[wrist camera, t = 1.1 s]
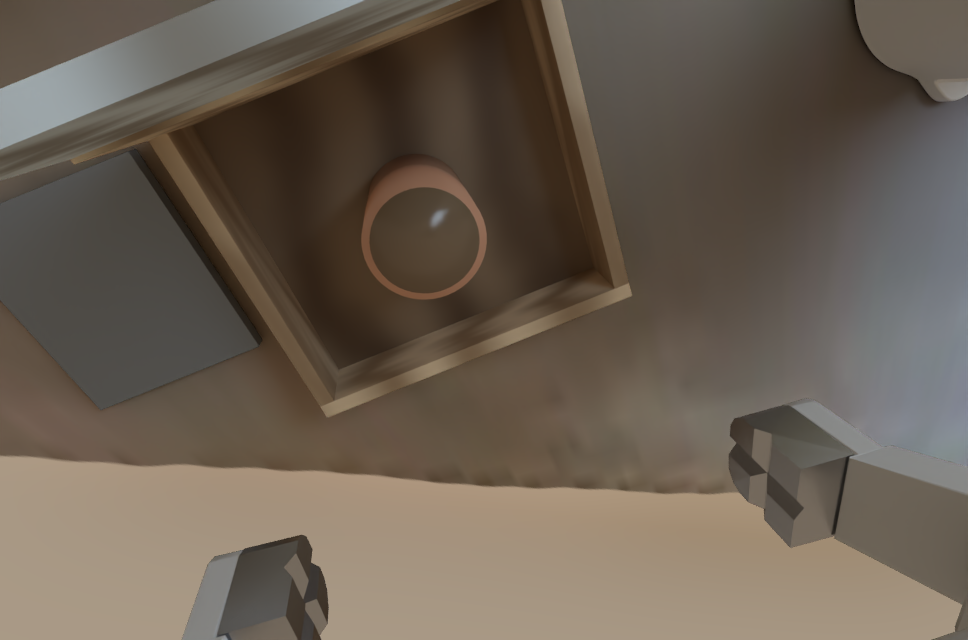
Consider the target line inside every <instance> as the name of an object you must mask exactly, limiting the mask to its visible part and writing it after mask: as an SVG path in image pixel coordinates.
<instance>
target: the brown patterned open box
mask: <svg viewBox="0 0 968 640" xmlns="http://www.w3.org/2000/svg"><path fill="white" fill-rule="evenodd" d="M146 141H149V143H150V144H151V146H152V147H153V149H154V151H155V152H156V154H157V155H158V157H159V158H160V160H161V161H162V163H163V164H164V166H165V168H166V169H167V171H168V172H169V174H170V175H171V177H172V178H173V180H174V181H175V183H176V185H177V186H178V188H179V189H180V191H181V192H182V194H183V195H184V197H185V198H186V200H187V202H188V203H189V205H190V206H191V208H192V209H193V211H194V212H195V214H196V215H197V217H198V219H199V220H200V222H201V223H202V225H203V226H204V228H205V229H206V231H207V232H208V234H209V236H210V237H211V239H212V240H213V242H214V243H215V245H216V246H217V248H218V249H219V251H220V253H221V254H222V256H223V257H224V259H225V260H226V262H227V263H228V265H229V267H230V268H231V270H232V271H233V273H234V274H235V276H236V277H237V279H238V280H239V282H240V284H241V285H242V287H243V288H244V290H245V291H246V293H247V294H248V296H249V297H250V299H251V301H252V302H253V304H254V305H255V307H256V308H257V310H258V311H259V313H260V314H261V316H262V318H263V319H264V321H265V322H266V324H267V325H268V327H269V328H270V330H271V331H272V333H273V335H274V336H275V338H276V339H277V341H278V342H279V344H280V345H281V347H282V348H283V350H284V352H285V353H286V355H287V356H288V358H289V359H290V361H291V362H292V364H293V365H294V367H295V369H296V370H297V372H298V373H299V375H300V376H301V378H302V379H303V381H304V382H305V384H306V386H307V387H308V389H309V390H310V392H311V393H312V395H313V396H314V398H315V400H316V401H317V403H318V404H319V406H320V407H321V409H322V410H323V412H324V413H325V415H326V417H327V418H328V417H330V416H333V415H335V414H338V413H340V412H343V411H345V410H348V409H350V408H353V407H355V406H358V405H360V404H363V403H365V402H368V401H370V400H373V399H375V398H378V397H380V396H383V395H385V394H388V393H390V392H393V391H395V390H398V389H400V388H403V387H405V386H408V385H410V384H413V383H415V382H418V381H420V380H423V379H425V378H428V377H430V376H433V375H435V374H438V373H440V372H443V371H445V370H448V369H450V368H453V367H455V366H458V365H460V364H463V363H465V362H468V361H470V360H473V359H475V358H478V357H480V356H483V355H485V354H488V353H490V352H493V351H495V350H498V349H500V348H503V347H505V346H508V345H510V344H513V343H515V342H518V341H520V340H523V339H525V338H528V337H530V336H533V335H535V334H538V333H540V332H543V331H545V330H548V329H550V328H553V327H555V326H558V325H560V324H563V323H565V322H568V321H570V320H573V319H576V318H578V317H581V316H583V315H586V314H588V313H591V312H593V311H596V310H598V309H601V308H603V307H606V306H608V305H611V304H613V303H616V302H618V301H621V300H623V299H626V298H628V297H631V296H632V293H631V289H630V285H629V281H628V277H627V272H626V268H625V264H624V260H623V256H622V252H621V247H620V243H619V239H618V235H617V231H616V227H615V222H614V218H613V214H612V210H611V206H610V202H609V197H608V193H607V189H606V185H605V181H604V177H603V172H602V168H601V164H600V160H599V156H598V152H597V147H596V143H595V139H594V135H593V131H592V127H591V122H590V118H589V114H588V110H587V106H586V102H585V97H584V93H583V89H582V85H581V81H580V76H579V72H578V68H577V64H576V60H575V56H574V51H573V47H572V43H571V39H570V35H569V31H568V26H567V22H566V18H565V14H564V10H563V6H562V1H561V0H216V1H213V2H211V3H208V4H206V5H203V6H201V7H198V8H196V9H194V10H191V11H189V12H186V13H184V14H181V15H179V16H177V17H174V18H172V19H169V20H167V21H164V22H162V23H160V24H157V25H155V26H152V27H150V28H147V29H145V30H142V31H140V32H138V33H135V34H133V35H130V36H128V37H125V38H123V39H121V40H118V41H116V42H113V43H111V44H108V45H106V46H103V47H101V48H99V49H96V50H94V51H91V52H89V53H86V54H84V55H82V56H79V57H77V58H74V59H72V60H69V61H67V62H64V63H62V64H60V65H57V66H55V67H52V68H50V69H47V70H45V71H43V72H40V73H38V74H35V75H33V76H30V77H28V78H25V79H23V80H21V81H18V82H16V83H13V84H11V85H8V86H6V87H4V88H1V89H0V181H1V180H4V179H8V178H11V177H14V176H18V175H21V174H24V173H28V172H31V171H34V170H38V169H41V168H44V167H48V166H51V165H54V164H57V163H61V162H64V161H67V160H71V161H72V163H73V164H78V163H81V162H84V161H87V160H90V159H93V158H96V157H99V156H102V155H105V154H109V153H112V152H115V151H118V150H121V149H124V148H127V147H130V146H133V145H137V144H140V143H143V142H146ZM408 154H424V155H429V156H432V157H435V158H437V159H439V160H441V161H443V162H444V163H446V164H447V165H448V166H449V167H450V168H451V169H452V170H453V171H454V172H455V173H456V174H457V176H458V177H459V179H460V180H461V182H462V184H463V185H464V187H465V188H466V190H467V192H468V193H469V195H470V196H471V198H472V200H473V201H474V203H475V204H476V206H477V208H478V209H479V211H480V213H481V215H482V217H483V220H484V223H485V227H486V233H487V244H486V251H485V255H484V258H483V261H482V263H481V265H480V267H479V269H478V271H477V272H476V274H475V275H474V276H473V277H472V279H471V280H470V281H469V282H468V283H467V284H465V285H464V286H463V287H462V288H460V289H458V290H457V291H455V292H453V293H451V294H449V295H446V296H443V297H440V298H435V299H426V300H424V299H413V298H408V297H404V296H401V295H399V294H397V293H395V292H393V291H391V290H389V289H388V288H386V287H385V286H384V285H383V284H381V283H380V282H379V281H378V280H377V279H376V277H375V276H374V275H373V274H372V272H371V271H370V269H369V267H368V265H367V263H366V261H365V258H364V255H363V251H362V244H361V234H362V228H363V221H364V215H365V208H366V202H367V195H368V190H369V187H370V184H371V182H372V180H373V178H374V176H375V175H376V173H377V172H378V171H379V170H380V169H381V168H382V167H383V166H384V165H385V164H386V163H388V162H389V161H391V160H393V159H395V158H397V157H400V156H403V155H408Z"/></svg>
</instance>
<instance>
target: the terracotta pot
mask: <svg viewBox="0 0 968 640" xmlns="http://www.w3.org/2000/svg"><path fill="white" fill-rule="evenodd" d="M361 244H362V251H363V255H364V258H365V261H366V263H367V265H368V267H369V269H370V271H371V272H372V274H373V275H374V276H375V277H376V279H377V280H378V281H379V282H380V283H381V284H383V285H384V286H385V287H386V288H388V289H389V290H391V291H393V292H395V293H397V294H399V295H401V296H404V297H408V298H413V299H424V300H426V299H435V298H440V297H443V296H446V295H449V294H451V293H453V292H455V291H457V290H458V289H460V288H462V287H463V286H464V285H465V284H467V283H468V282H469V281H470V280H471V279H472V277H473V276H474V275H475V274H476V272H477V271H478V269H479V267H480V265H481V263H482V261H483V258H484V255H485V251H486V244H487V233H486V227H485V223H484V220H483V217H482V215H481V213H480V211H479V209H478V208H477V206H476V204H475V203H474V201H473V200H472V198H471V196H470V195H469V193H468V192H467V190H466V188H465V187H464V185H463V184H462V182H461V180H460V179H459V177H458V176H457V174H456V173H455V172H454V171H453V170H452V169H451V168H450V167H449V166H448V165H447V164H446V163H444V162H443V161H441V160H439V159H437V158H435V157H432V156H429V155H424V154H408V155H403V156H400V157H397V158H395V159H393V160H391V161H389V162H388V163H386V164H385V165H384V166H383V167H382V168H381V169H380V170H379V171H378V172H377V173H376V175H375V176H374V178H373V180H372V182H371V184H370V187H369V190H368V195H367V202H366V208H365V215H364V221H363V228H362V234H361Z"/></svg>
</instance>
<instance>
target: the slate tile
mask: <svg viewBox="0 0 968 640" xmlns="http://www.w3.org/2000/svg"><path fill="white" fill-rule="evenodd" d="M0 301H1V302H2V303H3V304H4V305H5V306H6V307H7V308H8V309H9V311H10V312H11V313H12V314H13V315H14V316H15V317H16V318H17V319H18V320H19V321H20V323H21V324H22V325H23V326H24V327H25V328H26V329H27V330H28V331H29V332H30V334H31V335H32V336H33V337H34V338H35V339H36V340H37V341H38V342H39V343H40V344H41V346H42V347H43V348H44V349H45V350H46V351H47V352H48V353H49V354H50V355H51V356H52V358H53V359H54V360H55V361H56V362H57V363H58V364H59V365H60V366H61V367H62V369H63V370H64V371H65V372H66V373H67V374H68V375H69V376H70V377H71V378H72V379H73V381H74V382H75V383H76V384H77V385H78V386H79V387H80V388H81V389H82V390H83V391H84V393H85V394H86V395H87V396H88V397H89V398H90V399H91V400H92V401H93V402H94V404H95V405H96V406H97V407H98V408H99V409H100V410H103V409H105V408H108V407H110V406H113V405H115V404H117V403H120V402H122V401H125V400H127V399H130V398H132V397H135V396H137V395H140V394H142V393H145V392H147V391H150V390H152V389H155V388H157V387H160V386H162V385H165V384H167V383H170V382H172V381H175V380H177V379H180V378H182V377H185V376H187V375H190V374H192V373H195V372H197V371H200V370H202V369H205V368H207V367H210V366H212V365H214V364H217V363H219V362H222V361H224V360H227V359H229V358H232V357H234V356H237V355H239V354H242V353H244V352H247V351H249V350H252V349H254V348H257V347H259V346H260V344H261V342H262V338H261V337H260V335H259V334H258V332H257V331H256V329H255V328H254V326H253V325H252V323H251V322H250V320H249V319H248V317H247V316H246V314H245V313H244V311H243V310H242V308H241V307H240V305H239V304H238V302H237V301H236V299H235V298H234V296H233V295H232V293H231V292H230V290H229V289H228V287H227V286H226V284H225V283H224V281H223V280H222V278H221V277H220V275H219V274H218V272H217V271H216V269H215V268H214V266H213V265H212V263H211V262H210V260H209V259H208V257H207V256H206V254H205V252H204V251H203V249H202V248H201V246H200V245H199V243H198V242H197V240H196V239H195V237H194V236H193V234H192V233H191V231H190V230H189V228H188V227H187V225H186V224H185V222H184V221H183V219H182V218H181V216H180V215H179V213H178V212H177V210H176V209H175V207H174V206H173V204H172V203H171V201H170V200H169V198H168V197H167V195H166V194H165V192H164V191H163V189H162V188H161V186H160V185H159V183H158V182H157V180H156V179H155V177H154V176H153V174H152V173H151V171H150V170H149V168H148V166H147V165H146V163H145V162H144V160H143V159H142V157H141V156H140V154H139V153H138V151H137V150H136V149H134V150H131V151H128V152H125V153H123V154H121V155H118V156H116V157H113V158H111V159H108V160H106V161H103V162H101V163H98V164H96V165H94V166H91V167H89V168H86V169H84V170H81V171H79V172H76V173H74V174H71V175H69V176H67V177H64V178H62V179H59V180H57V181H54V182H52V183H49V184H47V185H45V186H42V187H40V188H37V189H35V190H32V191H30V192H27V193H25V194H22V195H20V196H18V197H15V198H13V199H10V200H8V201H5V202H3V203H0Z"/></svg>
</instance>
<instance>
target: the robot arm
mask: <svg viewBox="0 0 968 640" xmlns="http://www.w3.org/2000/svg"><path fill="white" fill-rule="evenodd" d="M854 1H855V10H856V16H857V21H858V25H859V28H860V31H861V34H862V36H863V38H864V40H865V42H866V44H867V46H868V47H869V49H870V50H871V52H872V53H873V54H874V55H875V57H876V58H878V59H879V60H880V61H881V62H882V63H883V64H885V65H886V66H888V67H890V68H891V69H894V70H896V71H899V72H902V73H905V74H908V75H910V76H912V77H914V78H916V79H918V80H919V82H920V83H921V85H922V86H923V88H924V89H925V91H926V92H927V93H928V94H929V96H930V97H931V98H932V99H934V100H935V101H938V102H945V101H956V100H959V99H961V98H963V97H964V96H966V95H968V0H854ZM730 437H731V438H732V439H733V440H734V441H735V442H736V445H735V446H734V448H733V449H732V450H731V452H730V453H729V470H730V474H731V477H732V480H733V482H734V484H735V486H736V487H737V489H738V491H739V492H740V493H741V494H742V496H743V497H744V498H745V499H746V500H747V501H748V502H749V503H751V504H754V505H756V506H758V507H761V508H763V509H764V519H765V521H766V522H767V523H768V524H769V525H770V526H771V527H772V529H773V530H774V531H775V532H776V533H777V534H778V535H779V536H780V537H781V538H782V539H783V540H784V541H785V543H786V544H787V545H788V546H789V547H791V548H792V547H795V546H799V545H803V544H807V543H810V542H814V541H818V540H821V539H825V538H829V537H833V536H835V539H836V540H838V541H840V542H842V543H844V544H846V545H848V546H850V547H852V548H854V549H856V550H858V551H860V552H861V553H863V554H865V555H867V556H869V557H871V558H873V559H875V560H877V561H879V562H881V563H883V564H885V565H887V566H889V567H890V568H893V569H894V570H896V571H898V572H900V573H902V574H904V575H906V576H908V577H910V578H912V579H914V580H916V581H918V582H920V583H921V584H923V585H925V586H927V587H929V588H931V589H933V590H935V591H937V592H939V593H941V594H943V595H945V596H947V597H949V598H950V599H952V600H954V601H956V602H958V603H960V604H962V608H961V611H960V614H959V617H958V619H957V622H956V625H955V632H953V633H950V634H947V635H944V636H941V637H939V638H936V639H933V640H968V467H966V466H963V465H959V464H956V463H952V462H949V461H945V460H942V459H938V458H934V457H931V456H927V455H924V454H920V453H917V452H913V451H910V450H906V449H902V448H899V447H895V446H892V445H890V446H887V447H882V446H881V445H879V444H878V443H876V442H875V441H874V440H872V439H871V438H869V437H868V436H866V435H865V434H863V433H862V432H861V431H859V430H858V429H856V428H855V427H853V426H852V425H850V424H849V423H847V422H846V421H845V420H843V419H842V418H840V417H839V416H837V415H836V414H834V413H833V412H832V411H830V410H829V409H827V408H826V407H824V406H823V405H821V404H820V403H819V402H817V401H815V400H812V399H809V398H805V399H801V400H798V401H794V402H791V403H787V404H784V405H782V406H778V407H774V408H771V409H767V410H763V411H760V412H756V413H753V414H749V415H745V416H742V417H738V418H735V419H734V420H733V422H732V424H731V428H730ZM311 557H312V548H311V545H310V544H309V541H308V539H307V537H306V536H304V535H299V536H295V537H291V538H286V539H283V540H278V541H274V542H270V543H266V544H262V545H258V546H254V547H249V548H245V549H244V550H240V551H236V552H232V553H228V554H223V555H219V556H215V557H214V558H213V559H212V560H211V561H210V562H209V564H208V565H207V569H206V571H205V574H204V577H203V580H202V582H201V586H200V588H199V592H198V594H197V597H196V600H195V603H194V606H193V608H192V611H191V614H190V617H189V620H188V623H187V626H186V629H185V632H184V634H183V637H182V640H321V638H320V634H321V632H322V631H323V630H324V628H325V627H326V625H327V624H328V608H329V607H328V596H327V588H326V584H325V580H324V576H323V574H322V571H321V569H320V567H318V566H316V565H314V564H313V563H311Z"/></svg>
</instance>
